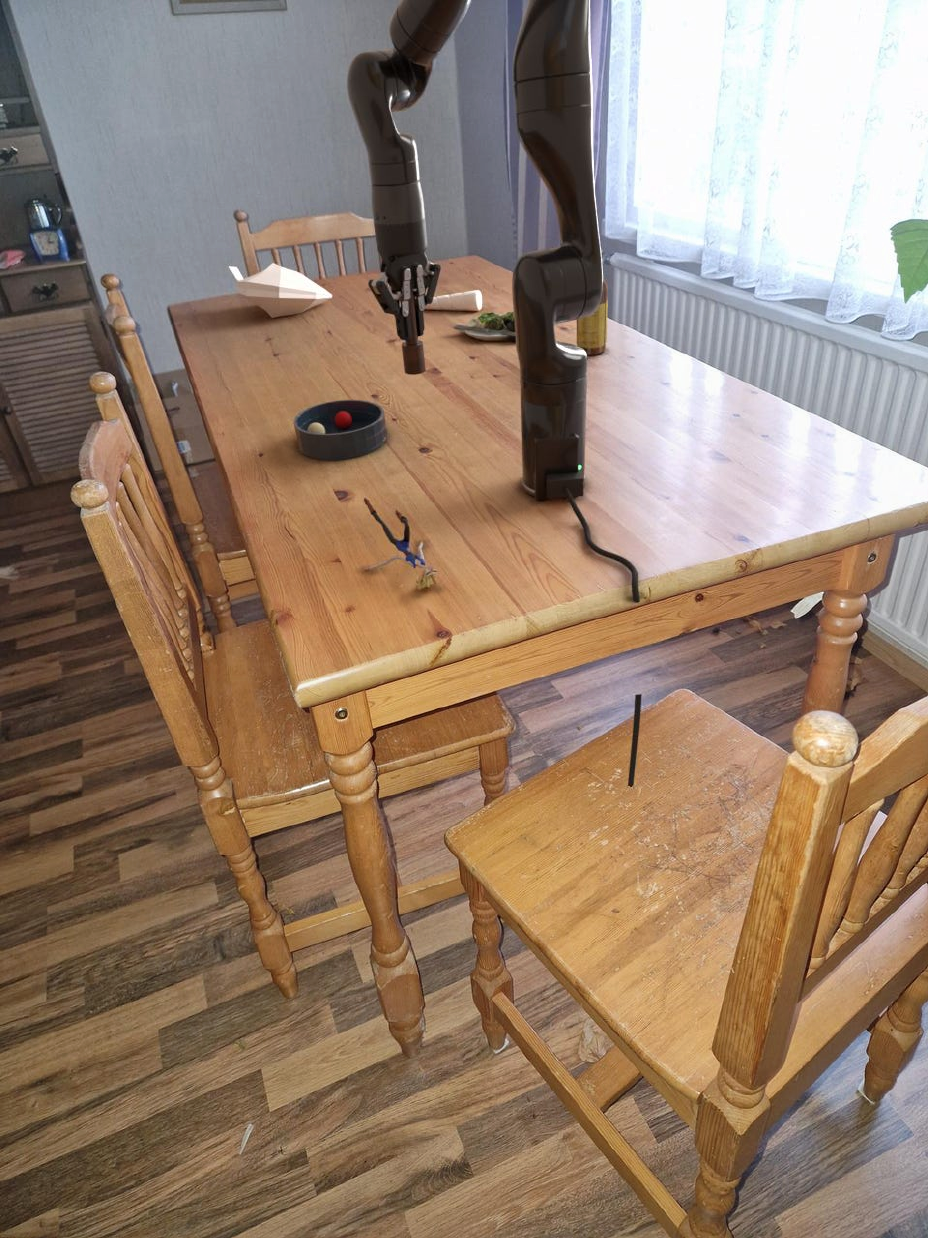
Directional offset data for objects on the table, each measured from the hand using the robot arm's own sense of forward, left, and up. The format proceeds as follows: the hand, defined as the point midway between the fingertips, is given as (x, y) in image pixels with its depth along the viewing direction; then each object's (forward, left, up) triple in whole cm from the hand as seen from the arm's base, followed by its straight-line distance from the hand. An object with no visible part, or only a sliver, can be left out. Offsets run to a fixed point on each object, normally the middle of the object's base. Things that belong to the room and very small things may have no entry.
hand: (411, 336), depth 128 cm
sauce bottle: (+40, -35, -18) cm, 56 cm away
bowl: (+3, +14, -18) cm, 23 cm away
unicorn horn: (+80, -3, -18) cm, 82 cm away
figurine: (-41, +2, -18) cm, 45 cm away
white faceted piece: (+89, +38, -18) cm, 98 cm away
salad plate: (+58, -18, -18) cm, 64 cm away
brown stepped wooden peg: (0, 0, -5) cm, 5 cm away
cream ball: (+3, +18, -16) cm, 24 cm away
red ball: (+7, +14, -16) cm, 22 cm away
